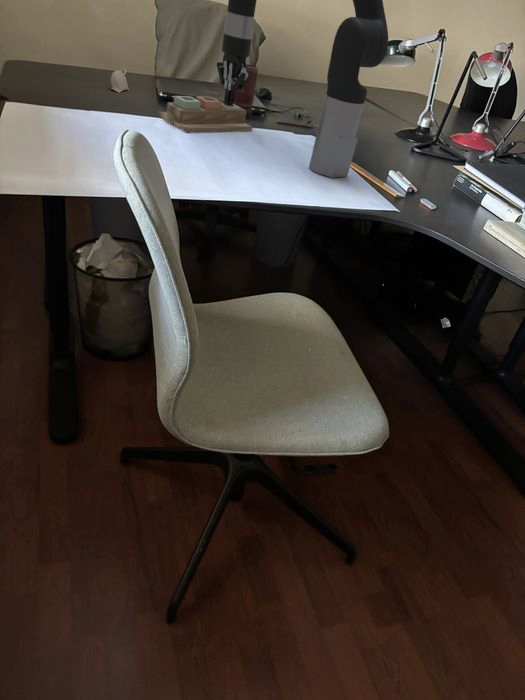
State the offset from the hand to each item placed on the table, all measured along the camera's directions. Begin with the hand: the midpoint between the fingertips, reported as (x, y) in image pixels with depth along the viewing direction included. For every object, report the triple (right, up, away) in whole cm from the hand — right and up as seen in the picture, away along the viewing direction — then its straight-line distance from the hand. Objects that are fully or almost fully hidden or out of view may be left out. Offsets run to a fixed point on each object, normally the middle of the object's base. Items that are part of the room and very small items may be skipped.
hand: (228, 104), depth 147 cm
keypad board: (-6, -6, -1) cm, 9 cm away
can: (+3, +3, +14) cm, 14 cm away
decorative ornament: (-34, +10, +12) cm, 37 cm away
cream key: (-1, -2, +2) cm, 3 cm away
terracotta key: (-6, -3, -3) cm, 7 cm away
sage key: (-11, -5, -8) cm, 14 cm away
